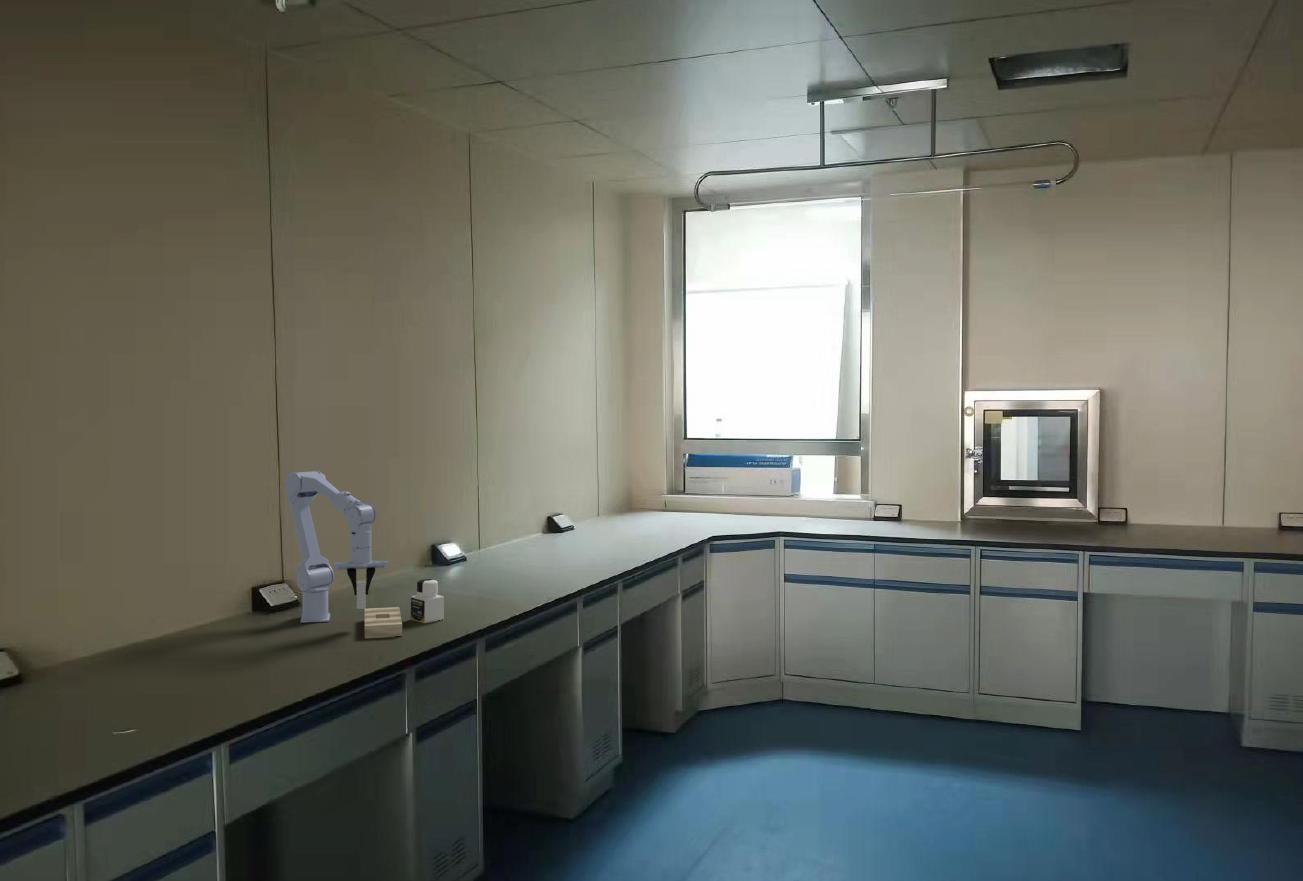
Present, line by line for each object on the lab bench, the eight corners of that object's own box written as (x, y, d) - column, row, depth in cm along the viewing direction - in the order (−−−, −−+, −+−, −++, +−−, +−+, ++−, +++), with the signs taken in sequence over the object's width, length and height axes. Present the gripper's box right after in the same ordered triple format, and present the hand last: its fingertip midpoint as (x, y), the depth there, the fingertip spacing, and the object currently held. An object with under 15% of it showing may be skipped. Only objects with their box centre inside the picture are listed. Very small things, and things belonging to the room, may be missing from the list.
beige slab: (364, 620, 298) (364, 608, 297) (399, 618, 300) (399, 607, 300) (364, 638, 276) (364, 625, 276) (402, 636, 279) (402, 623, 279)
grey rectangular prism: (357, 604, 290) (357, 580, 289) (365, 604, 290) (365, 580, 290) (356, 610, 283) (356, 585, 283) (365, 609, 284) (365, 585, 283)
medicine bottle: (410, 619, 299) (410, 579, 299) (430, 615, 305) (430, 576, 304) (424, 623, 295) (424, 583, 294) (444, 619, 300) (444, 580, 299)
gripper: (333, 549, 280) (334, 598, 281) (387, 548, 284) (387, 595, 285) (334, 546, 287) (335, 593, 288) (387, 544, 291) (387, 590, 291)
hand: (361, 594), depth 287 cm, fingers closed on grey rectangular prism, 2 cm apart
